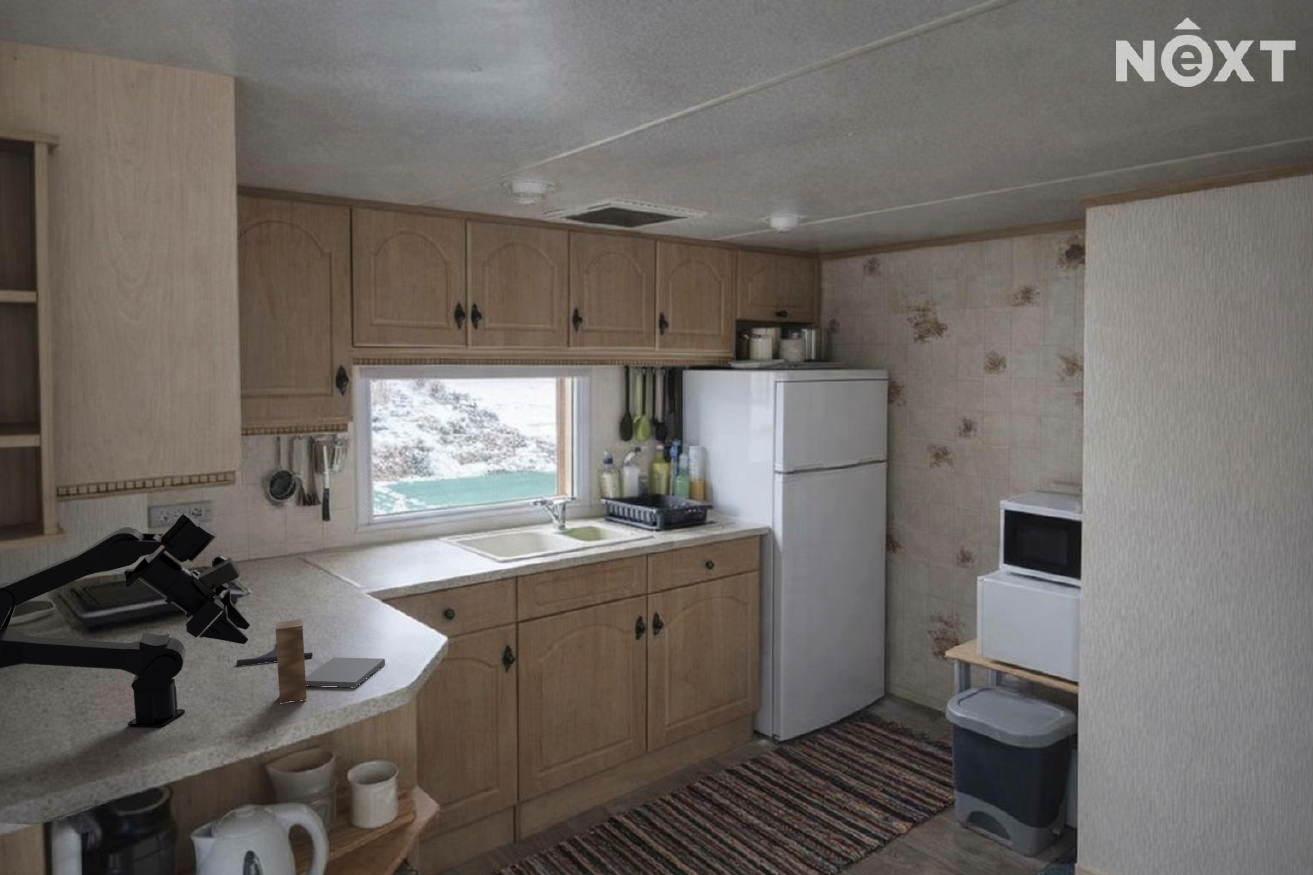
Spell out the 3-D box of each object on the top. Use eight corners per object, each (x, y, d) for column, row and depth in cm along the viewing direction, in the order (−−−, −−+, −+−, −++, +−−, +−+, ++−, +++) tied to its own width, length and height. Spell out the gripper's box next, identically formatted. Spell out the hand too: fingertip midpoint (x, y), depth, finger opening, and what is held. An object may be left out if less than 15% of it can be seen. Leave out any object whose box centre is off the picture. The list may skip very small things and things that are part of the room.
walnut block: (279, 704, 157) (275, 629, 156) (279, 696, 162) (275, 622, 160) (306, 700, 159) (302, 625, 158) (305, 691, 163) (301, 619, 162)
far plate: (355, 688, 165) (355, 682, 165) (301, 686, 166) (300, 680, 166) (385, 664, 178) (384, 658, 177) (333, 663, 179) (333, 657, 179)
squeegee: (318, 640, 196) (317, 628, 196) (312, 661, 182) (311, 648, 182) (248, 647, 192) (247, 635, 192) (236, 669, 178) (235, 656, 178)
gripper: (204, 556, 144) (280, 612, 150) (211, 536, 161) (280, 587, 167) (152, 608, 142) (232, 664, 147) (166, 582, 159) (237, 633, 164)
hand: (247, 634), depth 156 cm, fingers open, 9 cm apart
